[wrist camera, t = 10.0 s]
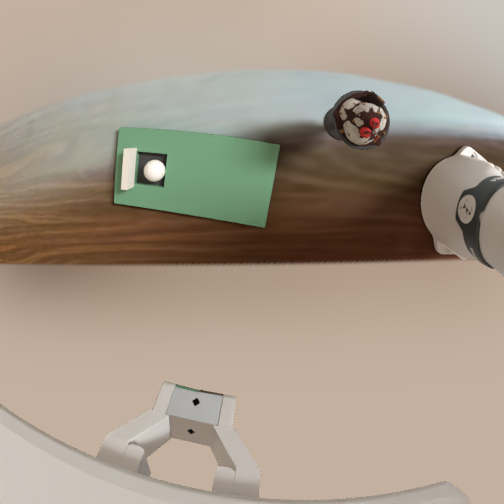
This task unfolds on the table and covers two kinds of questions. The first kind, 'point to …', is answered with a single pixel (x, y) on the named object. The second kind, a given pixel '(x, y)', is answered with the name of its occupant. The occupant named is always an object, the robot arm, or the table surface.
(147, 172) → the ball
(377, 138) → the sundae
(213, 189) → the green
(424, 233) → the table surface
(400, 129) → the table surface
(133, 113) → the table surface
